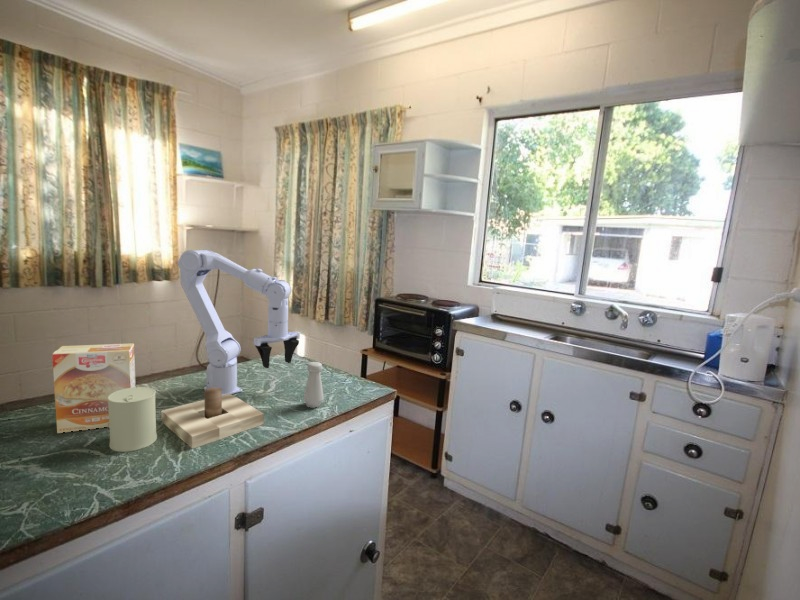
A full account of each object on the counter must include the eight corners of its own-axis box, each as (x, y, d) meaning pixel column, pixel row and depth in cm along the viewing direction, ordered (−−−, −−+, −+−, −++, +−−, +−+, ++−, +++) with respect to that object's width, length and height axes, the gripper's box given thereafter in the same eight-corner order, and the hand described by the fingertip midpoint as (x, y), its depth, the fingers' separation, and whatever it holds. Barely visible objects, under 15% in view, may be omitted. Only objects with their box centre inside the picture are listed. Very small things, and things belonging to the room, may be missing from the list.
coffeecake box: (56, 434, 94) (50, 353, 91) (65, 420, 100) (61, 345, 97) (132, 425, 100) (129, 349, 97) (137, 413, 107) (134, 342, 104)
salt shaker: (318, 410, 116) (320, 367, 114) (300, 407, 117) (301, 364, 115) (326, 402, 121) (328, 361, 119) (308, 400, 122) (309, 359, 120)
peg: (201, 422, 104) (201, 389, 102) (217, 418, 107) (217, 386, 105) (208, 428, 101) (208, 394, 100) (224, 423, 104) (224, 390, 103)
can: (105, 455, 87) (103, 402, 85) (112, 435, 95) (110, 387, 93) (155, 447, 91) (154, 397, 89) (158, 429, 99) (157, 382, 97)
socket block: (161, 421, 103) (161, 410, 102) (229, 402, 117) (229, 392, 116) (192, 448, 92) (192, 436, 91) (263, 424, 105) (263, 413, 105)
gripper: (263, 326, 112) (262, 373, 114) (306, 320, 123) (304, 363, 126) (250, 322, 117) (249, 366, 119) (292, 316, 128) (291, 357, 130)
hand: (277, 364), depth 123 cm, fingers open, 7 cm apart
